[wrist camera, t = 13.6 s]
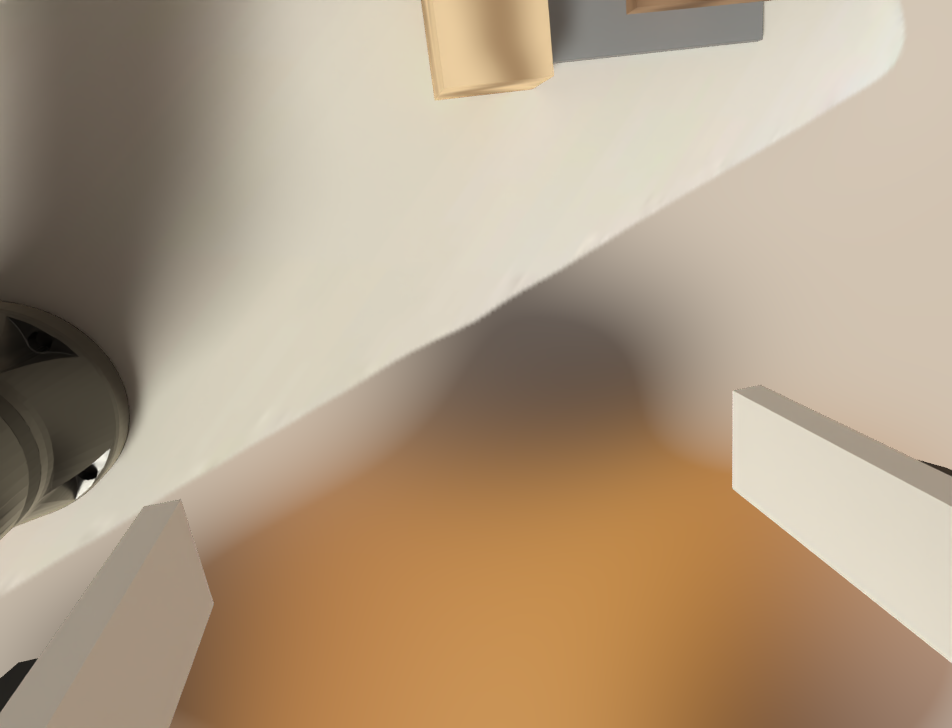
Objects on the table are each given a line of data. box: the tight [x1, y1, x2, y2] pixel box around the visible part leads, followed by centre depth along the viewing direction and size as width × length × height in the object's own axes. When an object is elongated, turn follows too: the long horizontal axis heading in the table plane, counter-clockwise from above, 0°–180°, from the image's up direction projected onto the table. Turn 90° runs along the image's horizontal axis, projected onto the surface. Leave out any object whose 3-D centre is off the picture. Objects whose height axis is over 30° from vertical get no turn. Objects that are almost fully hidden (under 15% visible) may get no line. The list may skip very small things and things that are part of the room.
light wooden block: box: [421, 0, 554, 100], centre depth 38 cm, size 7×7×5 cm
